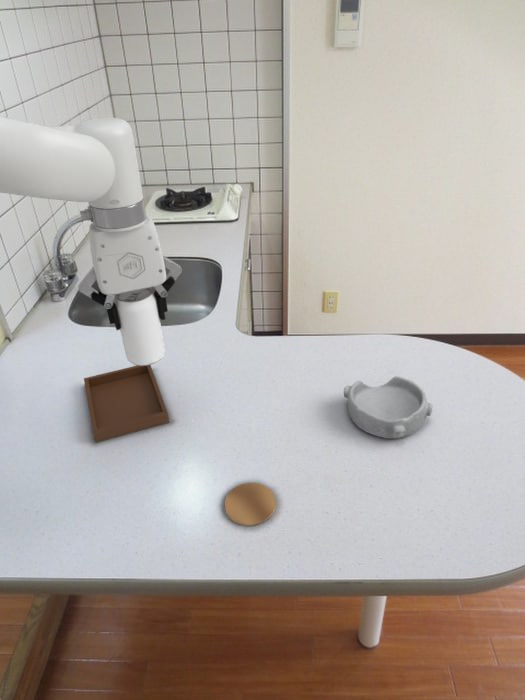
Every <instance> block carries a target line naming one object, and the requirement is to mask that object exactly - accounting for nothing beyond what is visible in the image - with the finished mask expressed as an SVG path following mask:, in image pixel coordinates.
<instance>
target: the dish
mask: <svg viewBox="0 0 525 700" xmlns="http://www.w3.org/2000/svg"><path fill="white" fill-rule="evenodd" d="M343 397H344V398H346V399H347V408H348V414H349V417H350V419H351V421H352V422H353V423H354V424H355V425H356V426H357V427H358V428H359V429H361V430H362V431H364V432H366V433H368V434H370V435H373V436H377V437H379V438H385V439H400V438H401V439H402V438H405V437H408V436H409V435H412V434H414V433H415V432H417V431H418V430H420V429H421V428H422V426H423V425H424V423H425V421H426V418H427V417H431V415H432V413H433V403H431V402H428V401H427V395H426V393H425V391H424V390H423V389H422V388H421V387H420V385H418V384H417V383H415V382H414V381H412V380H410V379H408V378H404V377H402V376H399V375H394V377H392V378H391V379H390V380H388V381H387V382H386V383H384V384H382V385H379V386H369V385H367V384H365V383H363V381H361V380H358V381H355V382H354V383H353V384H352V385H346V386H344V388H343Z"/></svg>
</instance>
